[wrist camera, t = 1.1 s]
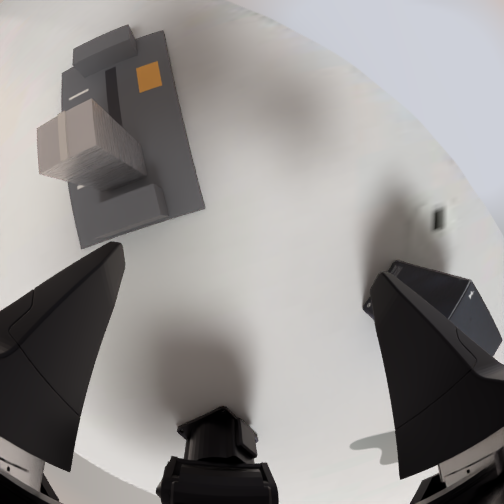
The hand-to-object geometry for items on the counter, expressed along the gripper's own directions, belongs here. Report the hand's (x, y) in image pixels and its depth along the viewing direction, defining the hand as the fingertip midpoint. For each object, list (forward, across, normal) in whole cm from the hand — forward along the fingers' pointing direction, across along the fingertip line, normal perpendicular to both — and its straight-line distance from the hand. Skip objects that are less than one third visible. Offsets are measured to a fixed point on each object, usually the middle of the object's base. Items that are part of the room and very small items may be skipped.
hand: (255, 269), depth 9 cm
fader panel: (+17, +12, -1) cm, 21 cm away
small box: (+10, -18, +12) cm, 24 cm away
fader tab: (+15, +11, +2) cm, 18 cm away
